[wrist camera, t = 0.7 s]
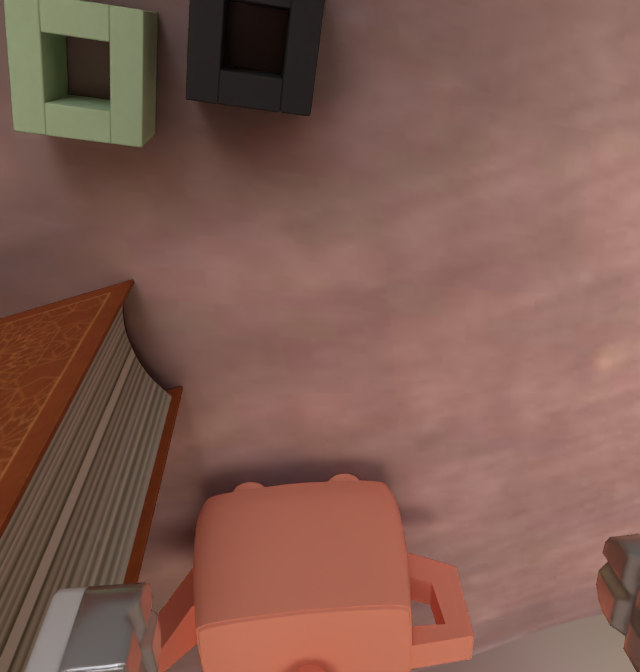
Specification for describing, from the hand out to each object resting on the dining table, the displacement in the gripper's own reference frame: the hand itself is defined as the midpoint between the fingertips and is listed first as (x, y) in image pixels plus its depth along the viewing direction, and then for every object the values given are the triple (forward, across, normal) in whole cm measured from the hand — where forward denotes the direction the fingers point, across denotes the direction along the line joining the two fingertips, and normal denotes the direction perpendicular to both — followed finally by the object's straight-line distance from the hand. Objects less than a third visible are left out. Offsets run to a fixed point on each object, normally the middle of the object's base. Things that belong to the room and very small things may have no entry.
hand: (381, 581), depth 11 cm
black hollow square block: (+28, +2, -8) cm, 29 cm away
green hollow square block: (+28, +10, -7) cm, 31 cm away
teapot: (+28, +2, +26) cm, 38 cm away
